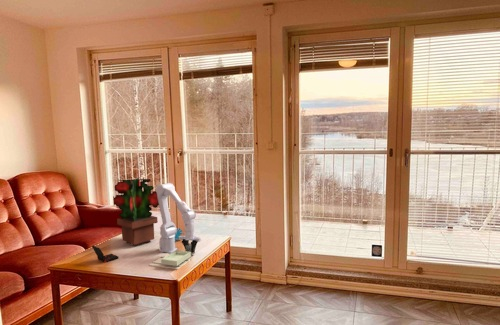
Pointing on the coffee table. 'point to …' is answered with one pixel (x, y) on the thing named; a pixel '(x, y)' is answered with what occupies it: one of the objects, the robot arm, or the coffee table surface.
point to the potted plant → (136, 210)
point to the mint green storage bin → (176, 258)
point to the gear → (178, 234)
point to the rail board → (158, 264)
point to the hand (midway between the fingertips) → (190, 251)
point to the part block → (189, 248)
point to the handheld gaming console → (104, 258)
